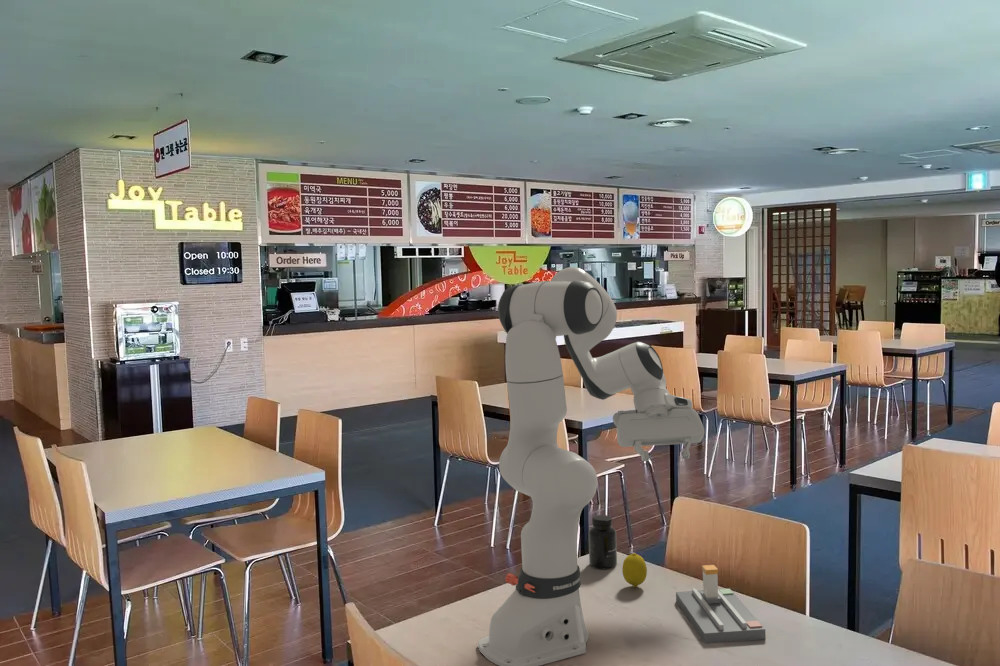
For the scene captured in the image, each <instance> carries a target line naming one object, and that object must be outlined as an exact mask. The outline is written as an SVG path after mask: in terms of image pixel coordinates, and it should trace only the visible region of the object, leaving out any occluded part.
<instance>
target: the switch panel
mask: <svg viewBox="0 0 1000 666" xmlns="http://www.w3.org/2000/svg"><path fill="white" fill-rule="evenodd" d="M701 592H703V590H697V588H694V587H693V588H691V590H689V591H686V590H685V591H676V592H675V602H676V603H677V604H678V607H680V609H681V610H682V612H683V613H684V615H685V617H686V618H687V619H688V620H689V622H690V624H691V625H692V627H693V628H694V630H695V631H696V632H697V634H698V635H699V637H700V639H701V640H702V641H703V643H704V644H714V643H715V644H717V643H729V642H730V643H731V642H740V641H742V642H743V641H755V640H757V641H758V640H766V628H765V627H764V626H763V625H762V623H760V621H759V620H758V619H757V618H756V617H755V616H754V615H753V613H752V612H751V610H749V609H748V608H747V606H746V605H745V604H744V602H742V600H741V599H740V598H739V597H738V596H737V594H735V593H734V591H732V589H731V588H730V587H729V588H718V596H719V597H720V598H721V603H713V604H707V602H706V601H705V600H704V599H703V597H702V596H701Z"/></svg>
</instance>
